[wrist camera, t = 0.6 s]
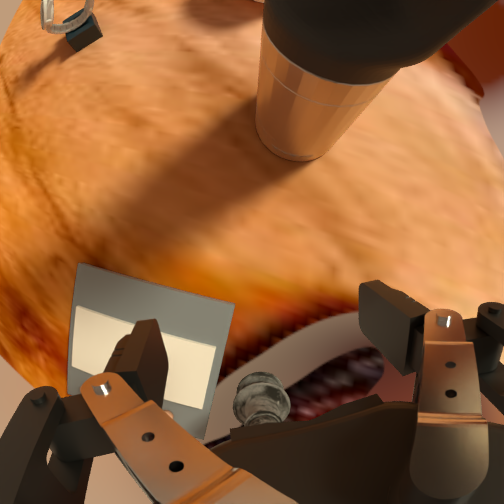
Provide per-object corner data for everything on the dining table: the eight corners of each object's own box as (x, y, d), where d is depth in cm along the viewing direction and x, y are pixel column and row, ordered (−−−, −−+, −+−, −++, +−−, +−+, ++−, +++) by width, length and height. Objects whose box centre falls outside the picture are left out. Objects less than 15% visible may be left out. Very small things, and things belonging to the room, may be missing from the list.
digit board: (83, 262, 32) (73, 263, 30) (235, 303, 32) (234, 307, 30) (71, 389, 32) (63, 396, 30) (204, 434, 33) (202, 444, 30)
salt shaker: (235, 414, 33) (231, 481, 21) (232, 370, 32) (226, 428, 20) (286, 412, 33) (301, 477, 21) (286, 367, 33) (305, 424, 21)
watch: (60, 39, 31) (26, 1, 20) (105, 11, 31) (79, -34, 20) (65, 60, 31) (27, 21, 20) (114, 30, 31) (85, -18, 20)
